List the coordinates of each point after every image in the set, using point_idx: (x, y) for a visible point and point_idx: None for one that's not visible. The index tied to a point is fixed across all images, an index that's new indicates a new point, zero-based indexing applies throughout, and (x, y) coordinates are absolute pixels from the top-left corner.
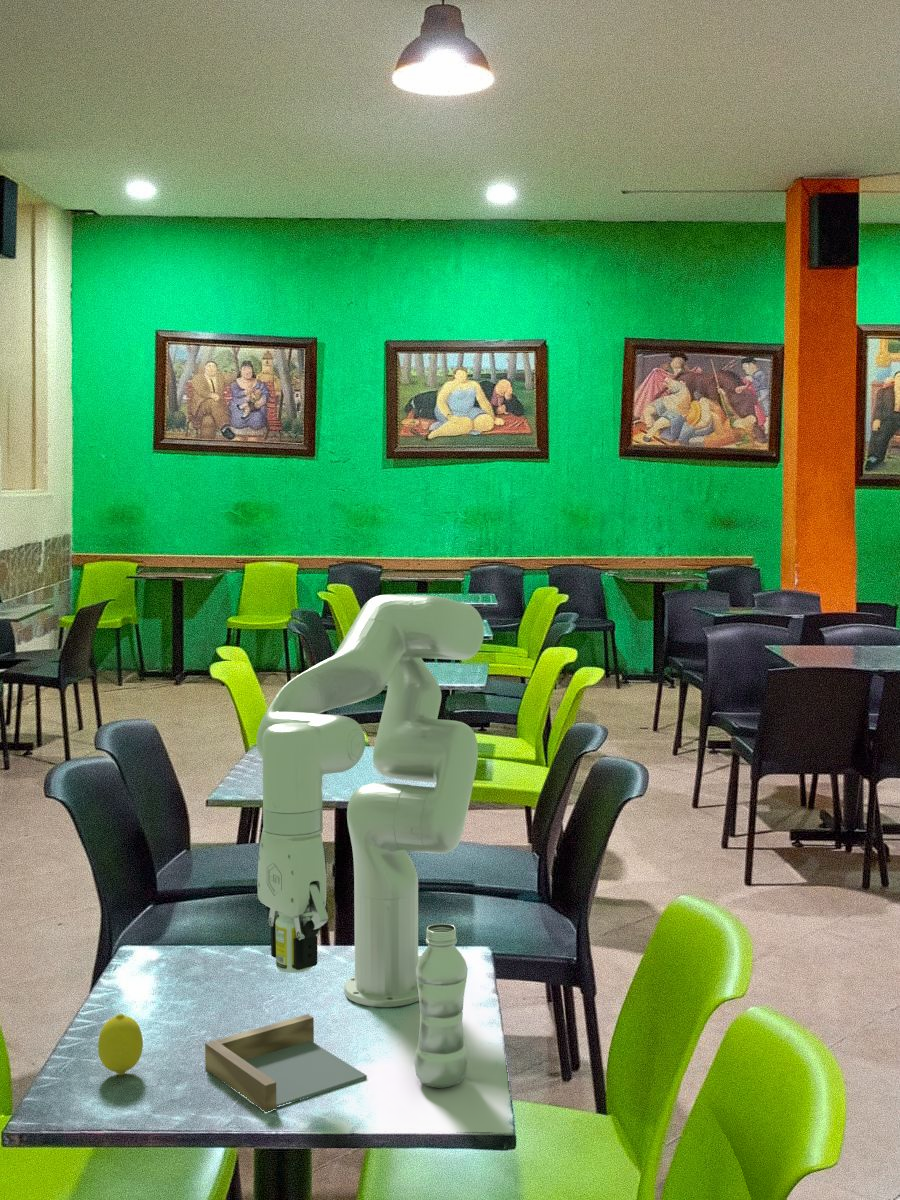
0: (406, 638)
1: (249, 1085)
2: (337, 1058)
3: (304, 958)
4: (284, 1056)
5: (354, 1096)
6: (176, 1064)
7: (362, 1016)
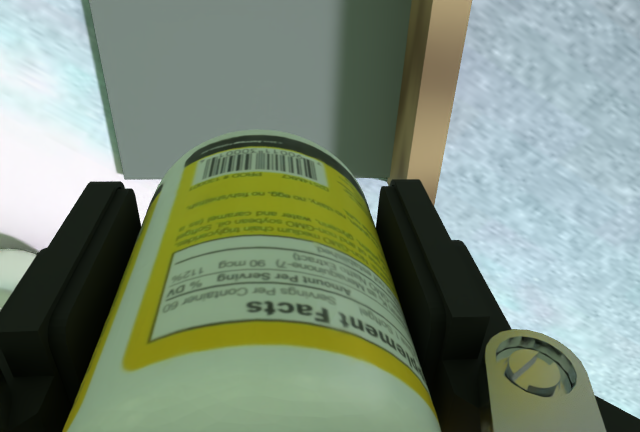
0: None
1: None
2: None
3: (36, 264)
4: (355, 75)
5: (41, 99)
6: None
7: None
